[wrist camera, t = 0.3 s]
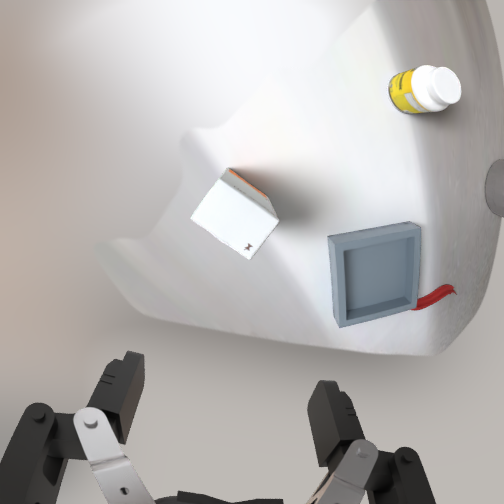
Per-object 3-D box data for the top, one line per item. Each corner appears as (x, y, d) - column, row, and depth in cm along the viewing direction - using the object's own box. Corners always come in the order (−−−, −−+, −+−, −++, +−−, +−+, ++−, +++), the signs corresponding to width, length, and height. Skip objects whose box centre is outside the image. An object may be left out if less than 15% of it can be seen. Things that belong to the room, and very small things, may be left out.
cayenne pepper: (460, 282, 41) (466, 287, 39) (451, 307, 42) (457, 312, 41) (405, 281, 40) (411, 287, 38) (397, 308, 42) (402, 315, 40)
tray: (409, 221, 36) (420, 227, 34) (407, 297, 41) (416, 307, 38) (327, 236, 37) (334, 244, 34) (333, 316, 41) (339, 328, 38)
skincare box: (269, 195, 35) (282, 222, 24) (247, 224, 36) (250, 263, 25) (226, 165, 33) (219, 176, 22) (205, 194, 34) (188, 220, 23)
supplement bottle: (400, 66, 29) (444, 51, 20) (426, 97, 30) (473, 92, 21) (377, 90, 30) (419, 78, 21) (405, 122, 32) (451, 121, 23)
